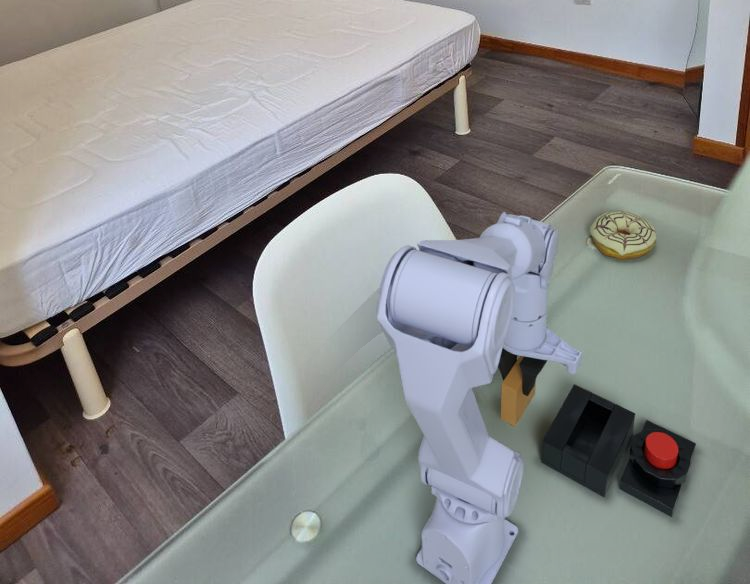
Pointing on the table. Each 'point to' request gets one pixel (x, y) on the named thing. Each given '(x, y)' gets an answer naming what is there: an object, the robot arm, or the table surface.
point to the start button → (661, 450)
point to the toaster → (588, 439)
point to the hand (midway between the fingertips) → (519, 385)
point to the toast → (514, 395)
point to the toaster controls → (656, 472)
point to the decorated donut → (623, 235)
